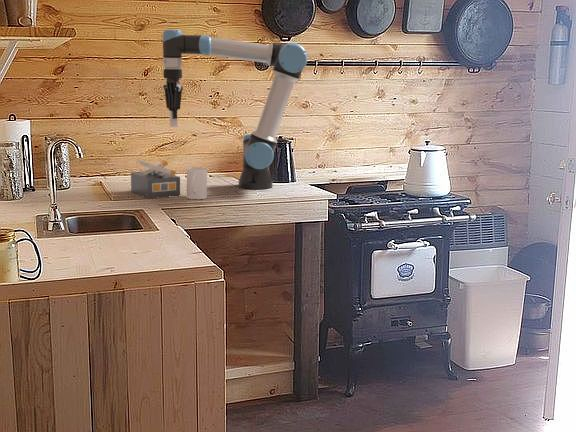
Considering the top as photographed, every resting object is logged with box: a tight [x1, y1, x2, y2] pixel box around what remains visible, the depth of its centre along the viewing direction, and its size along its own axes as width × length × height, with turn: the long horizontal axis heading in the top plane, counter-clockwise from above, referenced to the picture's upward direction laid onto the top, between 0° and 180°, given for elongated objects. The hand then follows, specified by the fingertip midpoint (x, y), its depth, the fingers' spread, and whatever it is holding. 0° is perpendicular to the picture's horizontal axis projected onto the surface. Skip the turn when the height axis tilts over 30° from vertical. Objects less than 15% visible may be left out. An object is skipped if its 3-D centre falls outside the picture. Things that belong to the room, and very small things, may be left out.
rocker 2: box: [139, 159, 169, 175], centre depth 314 cm, size 11×3×2 cm, turn 121°
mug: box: [185, 166, 208, 200], centre depth 308 cm, size 12×8×12 cm
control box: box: [130, 170, 181, 199], centre depth 315 cm, size 14×18×10 cm
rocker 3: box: [148, 164, 177, 175], centre depth 309 cm, size 11×3×2 cm, turn 124°
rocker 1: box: [136, 159, 165, 168], centre depth 319 cm, size 11×3×2 cm, turn 124°
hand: (173, 126), depth 317 cm, fingers closed
